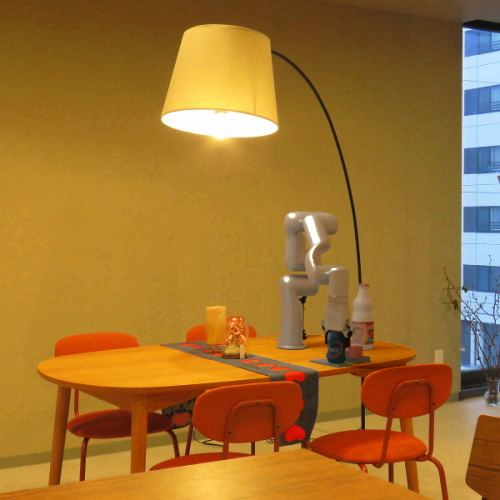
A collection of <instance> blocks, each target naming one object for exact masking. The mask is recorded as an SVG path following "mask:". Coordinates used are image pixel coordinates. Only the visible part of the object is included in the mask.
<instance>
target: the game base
mask: <svg viewBox="0 0 500 500" xmlns="http://www.w3.org/2000/svg"><path fill="white" fill-rule="evenodd" d="M325 359H327V352H325ZM370 362H371V356H369V355H364V354H363V356H361V357H352V356H348V354H346V361H345V363H350V364H364V363H370Z"/></svg>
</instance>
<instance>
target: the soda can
mask: <svg viewBox="0 0 500 500" xmlns="http://www.w3.org/2000/svg"><path fill="white" fill-rule="evenodd" d="M344 337H345V336H344V334H343V332H342V331H341V332H339V331H332V330H331V331H329V334H328V342H327V344H326V345H327V351H326V353H327V358H326V359H327V360H328V362H329V363H330V364H344V362H345V361H346V348H344V347H343V339H344ZM345 363H346V362H345Z"/></svg>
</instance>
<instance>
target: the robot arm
mask: <svg viewBox="0 0 500 500" xmlns="http://www.w3.org/2000/svg"><path fill="white" fill-rule="evenodd" d="M283 225H284V226H283V227H284V233H285V234H284V235H285V238H286V239H285V240H286V241H285V250H284V251H285V253H284V268H285V269H286V270H287V271H289V272H305V273H287V274H284V275H282V276H281V277H280V278H279V280H278V286H279V288H278V289H279V294H280V335H279V336H278V337H276V338H275V340H276V341H278V343H277V344H276V347H277V348H279V349H283V350H302V349H306V348H307V344H305V343H303V341H304V340H303V330H304V328H303V305H302V303H301V302H300V300H299V299H298V298H299V297H303V296H307V297H314V296H316V295H317V294H318V292H319V289H320V286H328V296H327V300H328V302H327V303H326V304H325V305H326V306H325V311H324V319H322V320H320V326H321V329H322V331H323V334H324V344H325V345H327V342H328V334H329V331H331V330H332V331H339V332H341V331H342V332H343V334H344V336H345V337H344V339H343V347H344V348H350V346H351V344H352V335H353V334H354V331H355V329H356V326H355V325H354V324H353V323H352V316H351V315H352V314H351V307H350V303H349V301H350V300H349V295H350V269H349V268H348V267H343V266H340V265H331V264H330V265H328V264H327V265H322V257H321V255H324V254H326V253H327V252H328V251H330V249H331V247H332V242H331V239H330V236H335V235H336V234H337V233H338V231H339V228H340V227H339V221H338V218H337V216H335V215H334V214H331V213H328V212H321V211H291V212H289V213H286V215H285V217H284V220H283ZM304 233H305V234H304ZM307 242H308V246H309V249H306V248H307V247H306V245H307Z"/></svg>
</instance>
